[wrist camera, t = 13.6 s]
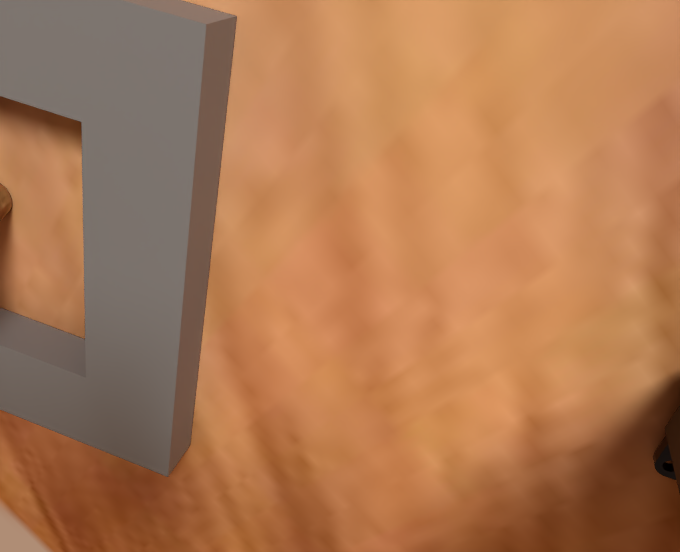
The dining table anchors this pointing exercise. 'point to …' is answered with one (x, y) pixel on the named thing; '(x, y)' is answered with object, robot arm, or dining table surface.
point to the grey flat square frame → (124, 215)
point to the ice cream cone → (4, 202)
